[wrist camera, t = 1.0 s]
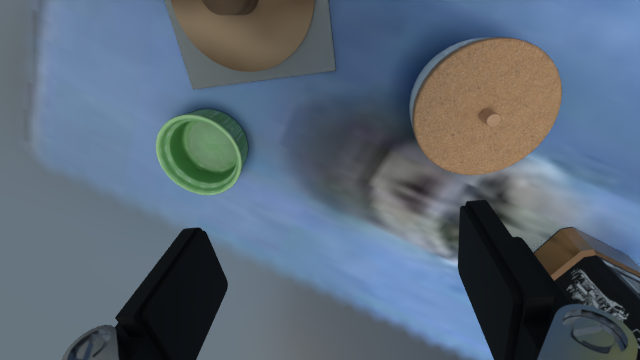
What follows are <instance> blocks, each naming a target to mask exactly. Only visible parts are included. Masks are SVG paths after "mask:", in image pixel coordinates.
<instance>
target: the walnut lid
mask: <svg viewBox="0 0 640 360" xmlns="http://www.w3.org/2000/svg"><path fill="white" fill-rule="evenodd" d="M171 3H172V7H173V10H174V12H175V15H176V17H177V19H178V21H179V23H180V26H181V27H182V29H183V31H184V32H185V34H186V35H187V37H188V38H189V39H190V40H191V42H192V43H193V44H194V45H195V46H196V47H197V48H198V49H199V50H200V51H201V52H202V53H203V54H204V55H206V56H207V57H208V58H210V59H211V60H213V61H214V62H216V63H218V64H220V65H222V66H224V67H227V68H229V69H232V70H237V71H244V72H255V71H262V70H266V69H269V68H272V67H274V66H276V65H278V64H280V63H282V62H283V61H284V60H286V59H287V58H288V57H290V56H291V55H292V54H293V53H294V52H295V51H296V50H297V48H298V47H299V46H300V44H301V43H302V41H303V40H304V38H305V36H306V34H307V32H308V30H309V27H310V25H311V21H312V18H313V13H314V7H315V0H171Z"/></svg>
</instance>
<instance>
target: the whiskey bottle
mask: <svg viewBox="0 0 640 360" xmlns="http://www.w3.org/2000/svg"><path fill="white" fill-rule="evenodd" d="M534 255H535V256H536V257H537V259H538V260H539V261H540V263H541V264H542V265H543V267H544V268H545V269H546V271H547V272H548V273H549V275H550V276H551V277H552V279H553V280H554V281H555V283H556V284H557V285H558V287H559V288H560V289H561V291H562V292H563V293H564V295H565V296H566V297H567V299H568V300H569V301H570V303H571V304H581V305H588V306H592V307H595V308H598V309H601V310H603V311H605V312H607V313H609V314H611V315H613V316H615V317H616V318H617V319H619V320H620V321H622V322H623V323H624V324H625V325H626V326H627V327H628V328H629V329H630V330H631V331H632V333H633V334H634V336H635V338H636V340H637V345H638V348H639V349H640V267H639V266H638V265H637V264H636V263H635V262H634V261H633V260H632V259H631V258H630V257H629V256H628V255H626V254H624V253H622V252H620V251H618V250H616V249H614V248H612V247H610V246H608V245H606V244H604V243H602V242H600V241H598V240H596V239H594V238H592V237H590V236H589V235H587V234H585V233H583V232H581V231H579V230H577V229H575V228H567V229H561V230H560V231H559V232H558V233H556V234H555V235H554V236H553V237H552V238H551V239H550V240H548V241H547V242H546V243H545V244H544V245H543V246H542V247H541V248H539V249H538V250H537V251H536V252H535V253H534Z"/></svg>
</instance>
